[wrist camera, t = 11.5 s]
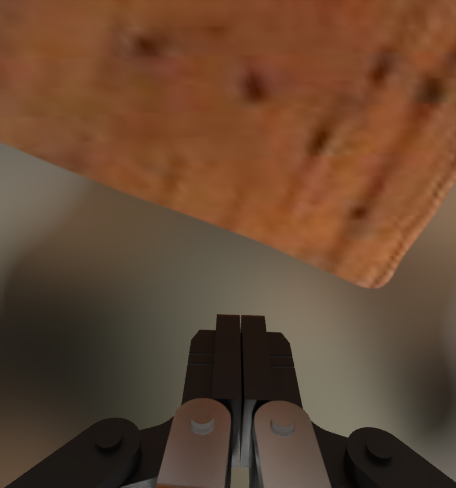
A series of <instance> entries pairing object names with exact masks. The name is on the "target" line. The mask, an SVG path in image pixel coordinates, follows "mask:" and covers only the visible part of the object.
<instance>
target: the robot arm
mask: <svg viewBox="0 0 456 488" xmlns="http://www.w3.org/2000/svg"><path fill="white" fill-rule="evenodd" d="M239 436H240V467H249V488H456V482H454V481H453V480H452V479H450V478H449V477H448V476H446V475H445V474H444V473H442V472H441V471H440V470H439V469H437V468H436V467H435V466H433V465H432V464H431V463H429V462H428V461H427V460H425V459H424V458H423V457H421V456H420V455H419V454H417V453H416V452H415V451H413V450H412V449H411V448H409V447H408V446H407V445H406V444H404V443H403V442H402V441H400V440H399V439H398V438H396V437H395V436H393V435H392V434H390V433H388V432H386V431H383V430H381V429H377V428H371V427H365V428H360V429H357V430H355V431H354V432H352V434H350V436H349V437H348V438H347V437H344V436H341V435H338V434H334V433H331V432H329V431H326V430H324V429H322V428H320V427H319V426H317V425H316V424H314V423H313V422H312V421H311V420H310V418H309V416H308V414H307V413H306V412H305V411H304V410H303V407H302V403H301V398H300V393H299V387H298V382H297V378H296V372H295V368H294V362H293V358H292V352H291V348H290V343H289V342H288V340H287V339H286V338H285V337H284V336H283V334H282V333H279V332H278V333H277V332H266V324H265V317H264V316H254V315H253V316H252V315H242V316H241V329H240V315H221V314H220V315H219V314H217V321H216V330H199V331H198V332H197V334H196V335H195V336H194V337H193V338H192V340H191V345H190V352H189V358H188V366H187V372H186V378H185V385H184V392H183V399H182V403H181V406H180V407H179V409H178V410H177V411H176V413H175V415H174V416H173V417H172V418H171V419H170V420H168V421H167V422H165V423H163V424H161V425H158V426H155V427H151V428H147V429H143V430H139V429H138V428H137V426H136V425H135V424H134V423H132V422H131V421H129V420H127V419H123V418H109V419H104V420H101V421H99V422H97V423H95V424H93V425H92V426H90V427H89V428H87V429H86V430H84V431H83V432H82V433H80V434H79V435H77V436H76V437H75V438H73V439H72V440H70V441H69V442H68V443H66V444H65V445H64V446H62V447H61V448H59V449H58V450H57V451H55V452H54V453H52V454H51V455H50V456H48V457H47V458H45V459H44V460H43V461H41V462H40V463H38V464H37V465H36V466H34V467H33V468H31V469H30V470H29V471H27V472H26V473H24V474H23V475H22V476H20V477H19V478H17V479H16V480H15V481H13V482H12V483H10V484H9V485H8V486H6V487H5V488H230V484H231V467H238V452H239Z"/></svg>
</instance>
